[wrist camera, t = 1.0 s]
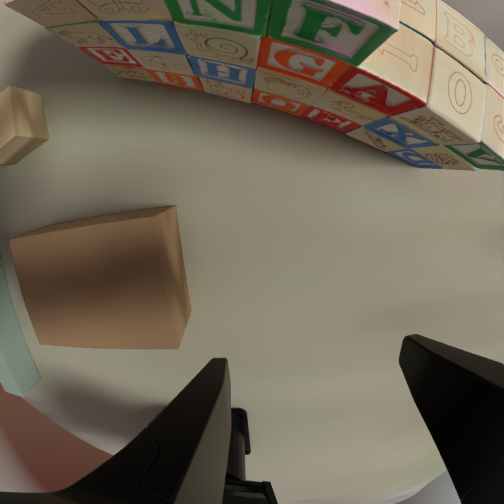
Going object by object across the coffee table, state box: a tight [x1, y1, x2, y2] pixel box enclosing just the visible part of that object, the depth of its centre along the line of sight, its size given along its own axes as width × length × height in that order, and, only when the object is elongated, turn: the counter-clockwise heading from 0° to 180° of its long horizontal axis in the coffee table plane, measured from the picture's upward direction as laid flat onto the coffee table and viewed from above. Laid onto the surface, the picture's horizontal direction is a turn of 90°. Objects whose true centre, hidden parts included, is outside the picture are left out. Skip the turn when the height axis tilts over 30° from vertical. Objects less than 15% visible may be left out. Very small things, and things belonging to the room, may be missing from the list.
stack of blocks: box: [4, 0, 504, 171], centre depth 10 cm, size 21×6×12 cm, turn 74°
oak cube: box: [0, 85, 49, 164], centre depth 13 cm, size 4×4×4 cm
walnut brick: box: [9, 206, 191, 349], centre depth 16 cm, size 7×10×5 cm
